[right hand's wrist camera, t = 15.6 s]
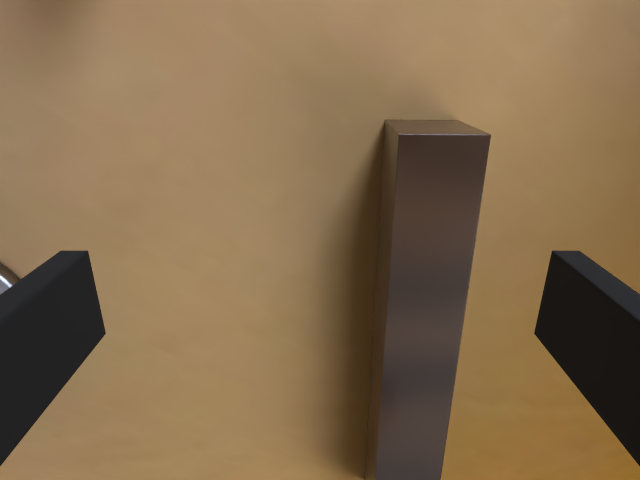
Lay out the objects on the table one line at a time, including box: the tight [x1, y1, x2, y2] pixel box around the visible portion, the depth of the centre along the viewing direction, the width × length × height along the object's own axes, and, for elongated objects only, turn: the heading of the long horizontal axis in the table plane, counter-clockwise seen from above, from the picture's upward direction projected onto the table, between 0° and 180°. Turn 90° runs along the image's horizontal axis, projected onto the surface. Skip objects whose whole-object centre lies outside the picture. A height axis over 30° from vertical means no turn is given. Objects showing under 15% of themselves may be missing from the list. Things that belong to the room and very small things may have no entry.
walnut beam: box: [365, 120, 491, 480], centre depth 33 cm, size 34×5×6 cm, turn 0°
